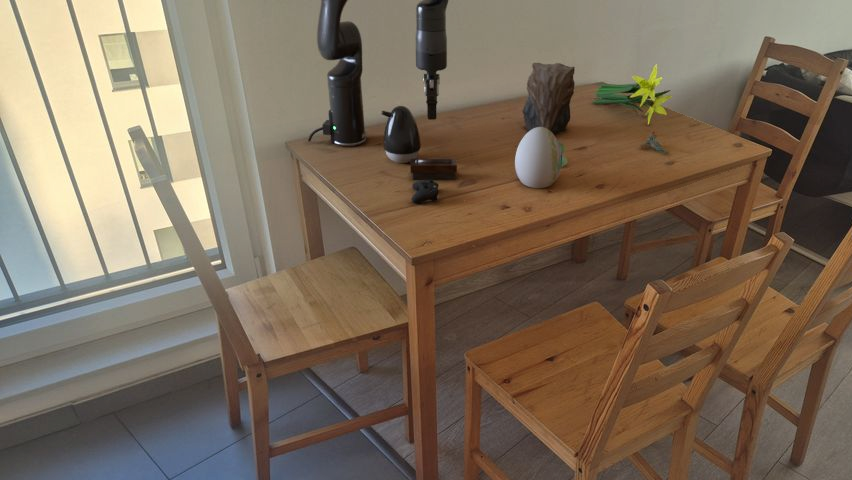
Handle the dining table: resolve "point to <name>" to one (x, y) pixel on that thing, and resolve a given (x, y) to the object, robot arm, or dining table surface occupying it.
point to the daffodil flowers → (635, 94)
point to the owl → (549, 97)
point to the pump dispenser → (401, 135)
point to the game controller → (425, 191)
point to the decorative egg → (538, 158)
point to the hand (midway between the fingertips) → (431, 113)
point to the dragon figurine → (652, 142)
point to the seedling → (564, 159)
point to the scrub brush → (433, 168)
